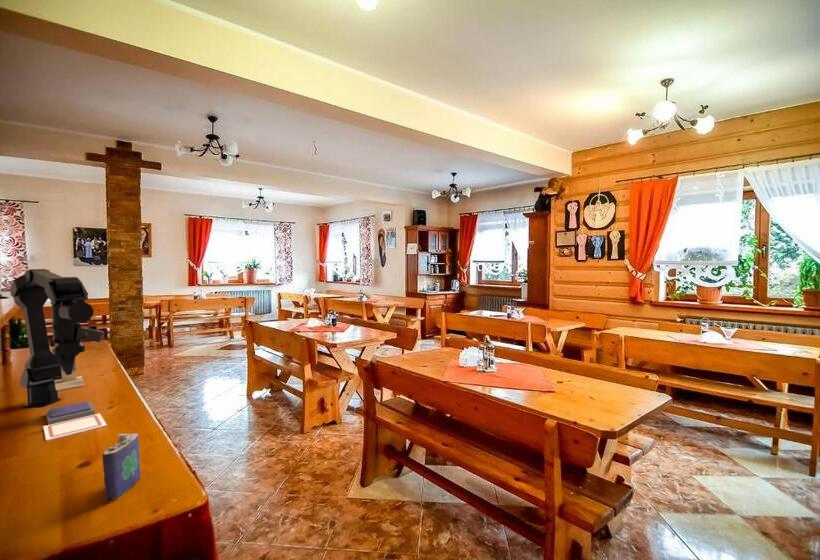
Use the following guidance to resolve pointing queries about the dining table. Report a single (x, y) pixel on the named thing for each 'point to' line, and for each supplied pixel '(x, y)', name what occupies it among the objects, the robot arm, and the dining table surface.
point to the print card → (73, 426)
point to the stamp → (69, 380)
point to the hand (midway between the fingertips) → (68, 373)
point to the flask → (121, 466)
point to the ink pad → (69, 412)
